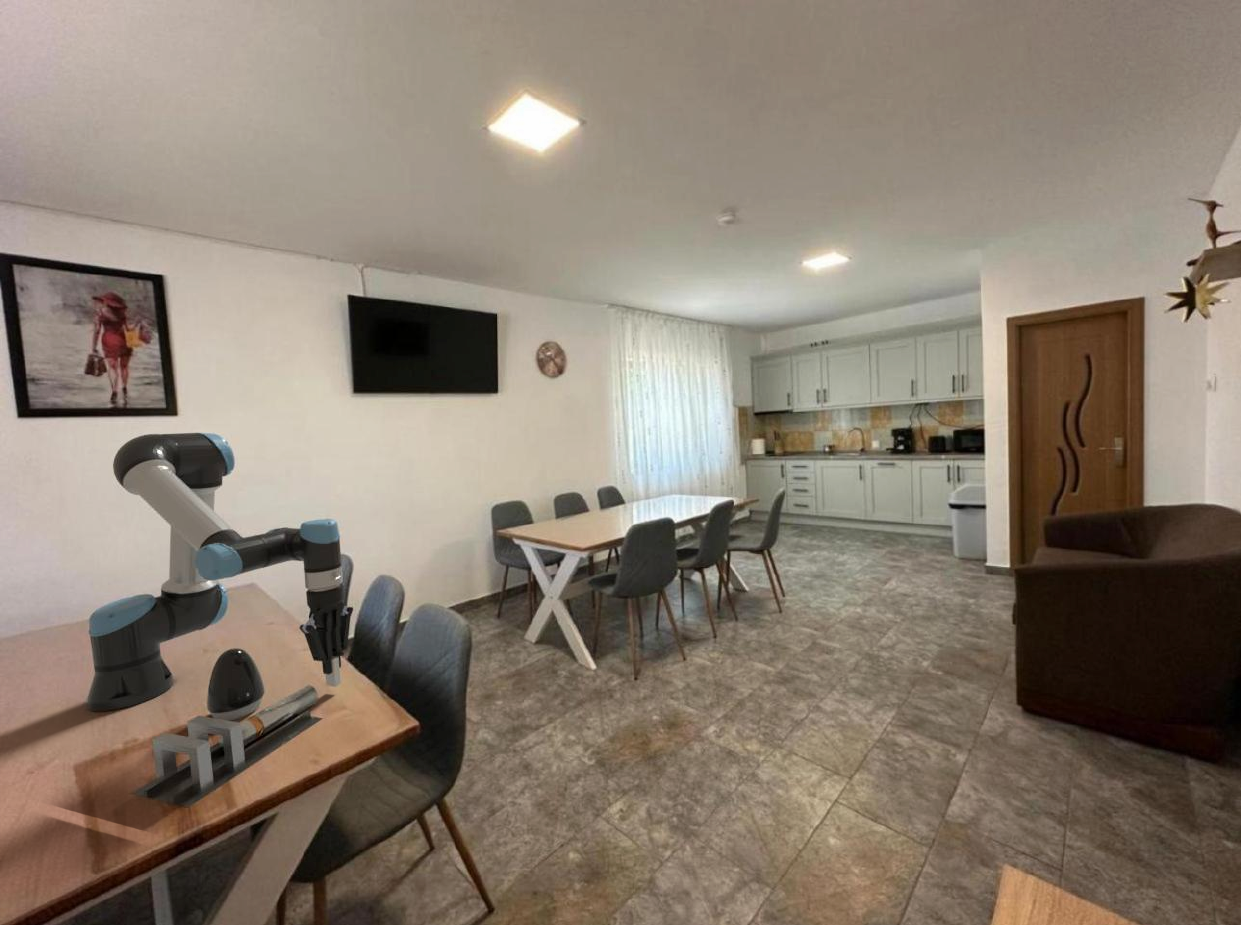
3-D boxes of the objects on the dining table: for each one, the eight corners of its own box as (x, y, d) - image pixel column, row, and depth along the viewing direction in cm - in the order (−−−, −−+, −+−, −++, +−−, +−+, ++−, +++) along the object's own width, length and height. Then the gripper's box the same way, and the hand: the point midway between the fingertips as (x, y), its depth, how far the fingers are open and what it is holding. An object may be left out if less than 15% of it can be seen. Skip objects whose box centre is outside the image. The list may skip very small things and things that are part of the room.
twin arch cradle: (131, 798, 87) (125, 748, 86) (274, 714, 112) (270, 675, 111) (188, 812, 83) (182, 760, 82) (323, 722, 107) (319, 682, 107)
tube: (239, 751, 95) (230, 729, 96) (224, 756, 97) (216, 735, 97) (320, 701, 113) (313, 682, 113) (307, 706, 114) (299, 687, 114)
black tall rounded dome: (221, 734, 105) (213, 663, 104) (200, 721, 110) (193, 654, 109) (275, 710, 114) (268, 644, 113) (254, 698, 119) (247, 636, 118)
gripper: (312, 596, 110) (322, 700, 111) (359, 578, 122) (367, 672, 123) (286, 594, 112) (296, 697, 113) (335, 577, 124) (343, 669, 126)
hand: (333, 684), depth 118 cm, fingers closed
